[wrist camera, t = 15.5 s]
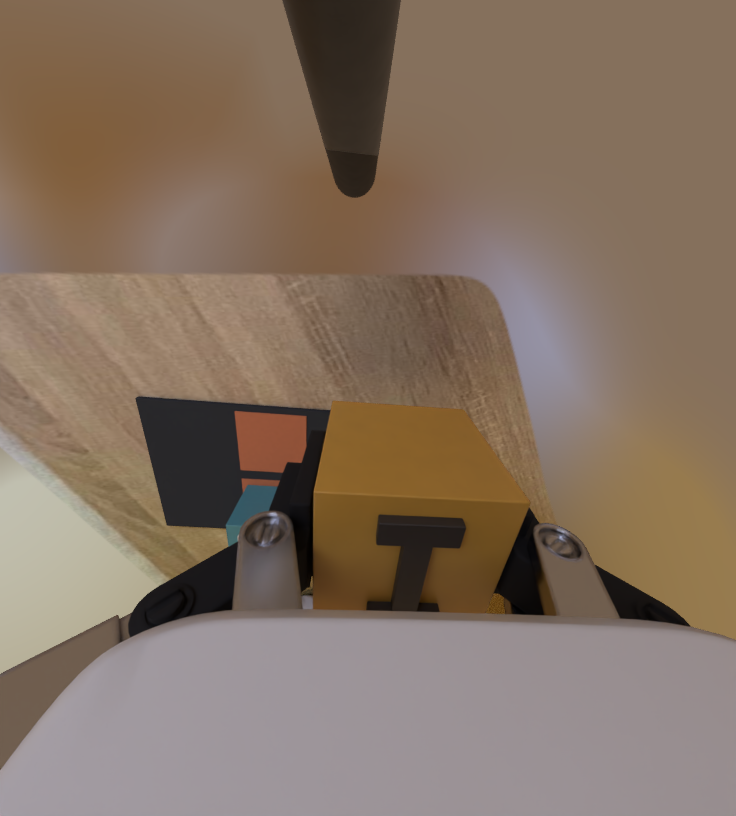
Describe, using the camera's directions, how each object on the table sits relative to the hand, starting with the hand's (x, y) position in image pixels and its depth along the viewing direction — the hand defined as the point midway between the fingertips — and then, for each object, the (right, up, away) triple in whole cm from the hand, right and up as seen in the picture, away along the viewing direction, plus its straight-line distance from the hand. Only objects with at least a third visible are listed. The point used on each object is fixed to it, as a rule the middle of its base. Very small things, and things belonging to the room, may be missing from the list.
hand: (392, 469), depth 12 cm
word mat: (-9, -4, +17) cm, 19 cm away
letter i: (0, 0, +1) cm, 1 cm away
